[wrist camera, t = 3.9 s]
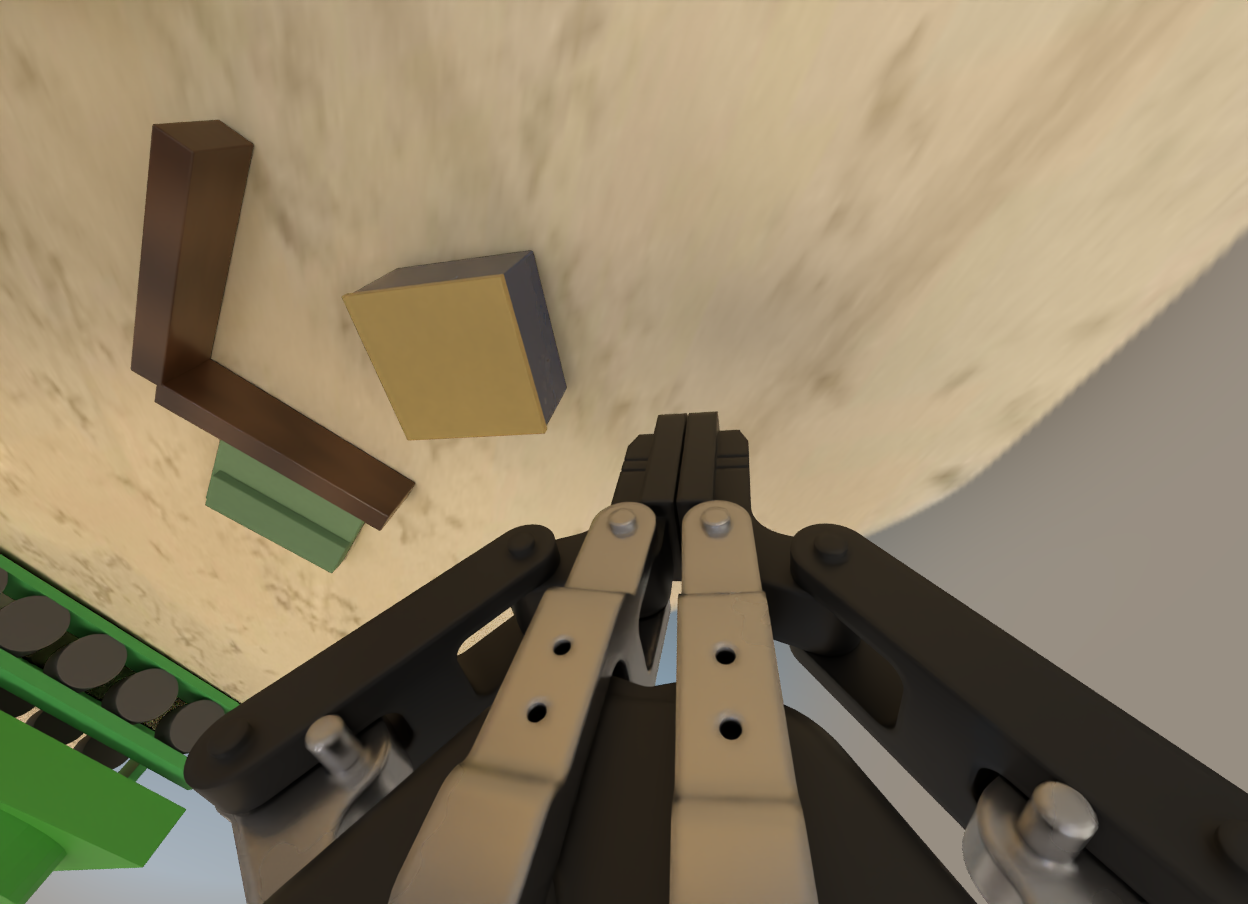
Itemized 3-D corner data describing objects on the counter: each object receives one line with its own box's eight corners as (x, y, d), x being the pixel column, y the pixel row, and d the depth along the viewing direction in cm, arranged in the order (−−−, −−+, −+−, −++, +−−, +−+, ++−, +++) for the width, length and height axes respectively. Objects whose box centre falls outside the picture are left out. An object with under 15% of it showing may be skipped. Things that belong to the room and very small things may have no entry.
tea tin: (446, 397, 27) (407, 440, 24) (394, 267, 23) (340, 296, 20) (568, 389, 25) (545, 433, 22) (534, 247, 22) (500, 276, 18)
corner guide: (285, 499, 33) (250, 532, 31) (57, 156, 23) (-22, 164, 20) (421, 496, 31) (395, 531, 29) (239, 114, 21) (174, 118, 18)
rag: (215, 490, 34) (197, 504, 33) (233, 421, 30) (214, 434, 29) (342, 560, 36) (330, 576, 35) (375, 504, 32) (362, 519, 31)
